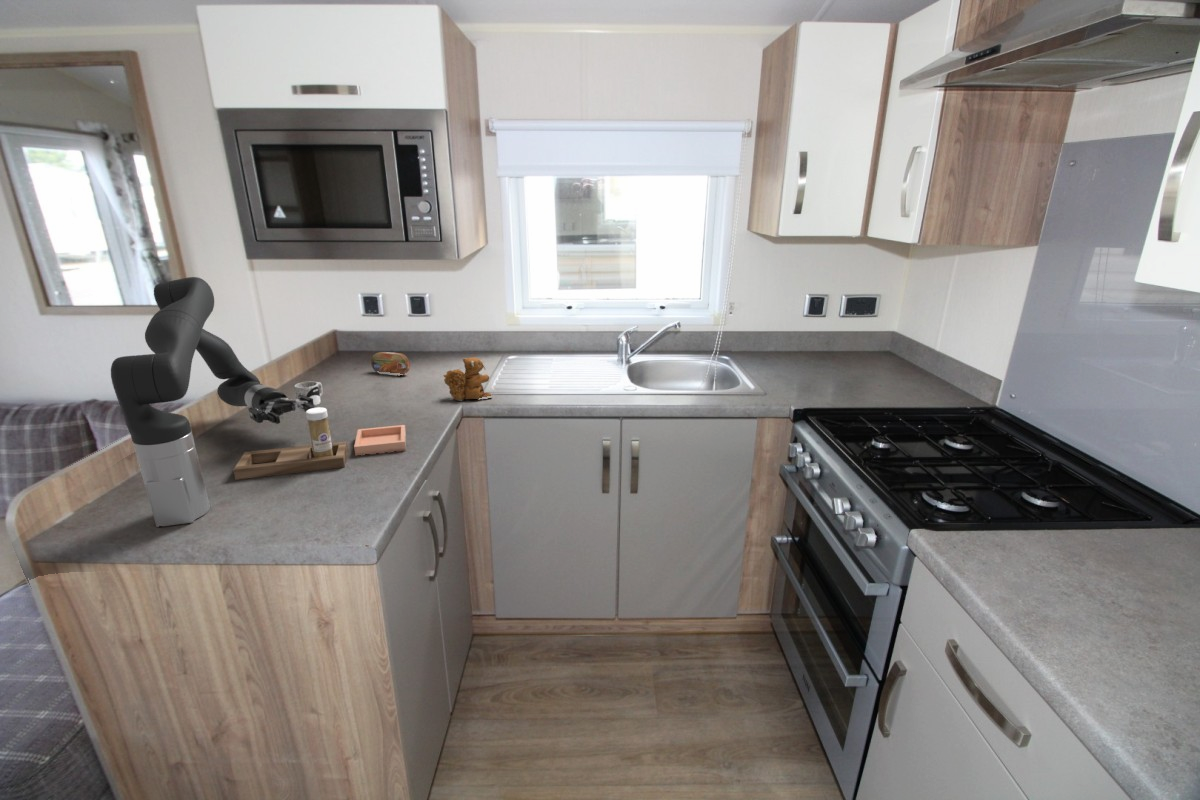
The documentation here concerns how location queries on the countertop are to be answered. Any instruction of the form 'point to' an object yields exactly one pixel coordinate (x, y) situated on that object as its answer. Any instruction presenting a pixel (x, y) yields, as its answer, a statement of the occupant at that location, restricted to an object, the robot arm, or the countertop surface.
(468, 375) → the stuffed squirrel
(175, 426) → the robot arm
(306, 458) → the walnut rack
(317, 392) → the mug
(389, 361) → the tin
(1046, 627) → the countertop surface
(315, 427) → the sprinkles bottle
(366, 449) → the terracotta tray
